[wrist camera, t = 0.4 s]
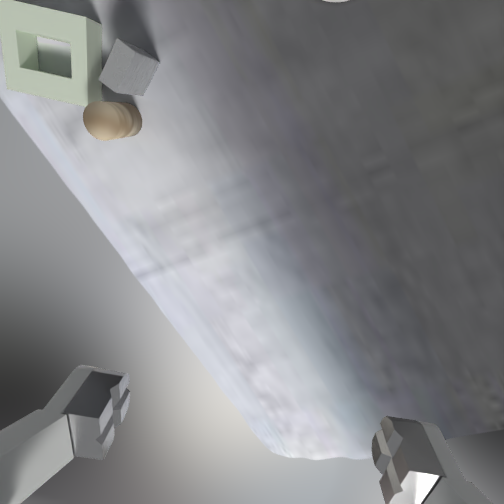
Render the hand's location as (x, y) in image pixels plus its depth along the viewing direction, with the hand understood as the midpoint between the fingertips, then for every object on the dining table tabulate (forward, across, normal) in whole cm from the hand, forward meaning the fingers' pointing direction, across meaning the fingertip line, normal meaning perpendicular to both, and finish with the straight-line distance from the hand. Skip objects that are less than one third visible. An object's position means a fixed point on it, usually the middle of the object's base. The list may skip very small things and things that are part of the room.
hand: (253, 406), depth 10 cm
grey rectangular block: (+45, +21, -10) cm, 51 cm away
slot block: (+45, +34, -10) cm, 58 cm away
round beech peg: (+45, +24, -3) cm, 52 cm away
